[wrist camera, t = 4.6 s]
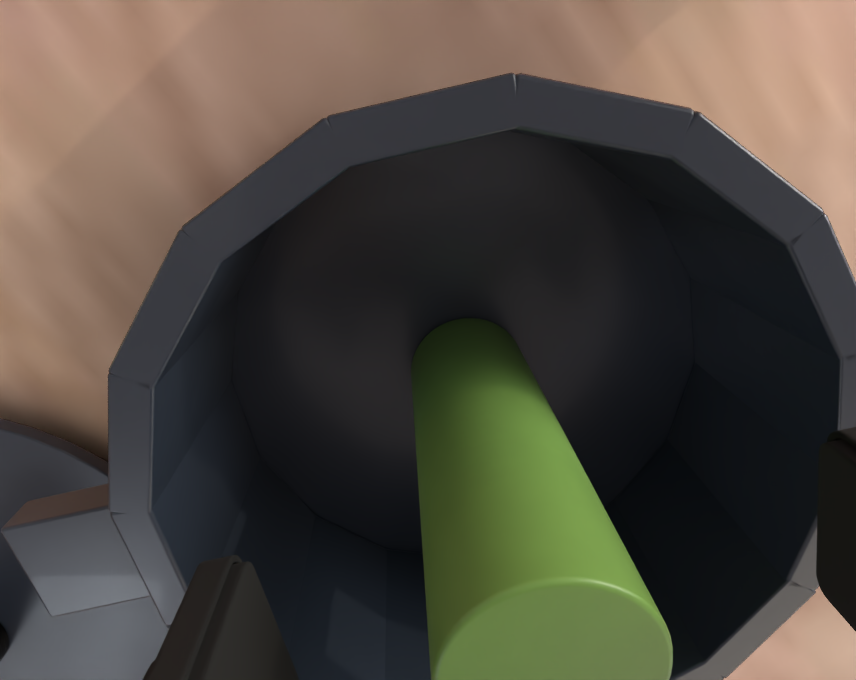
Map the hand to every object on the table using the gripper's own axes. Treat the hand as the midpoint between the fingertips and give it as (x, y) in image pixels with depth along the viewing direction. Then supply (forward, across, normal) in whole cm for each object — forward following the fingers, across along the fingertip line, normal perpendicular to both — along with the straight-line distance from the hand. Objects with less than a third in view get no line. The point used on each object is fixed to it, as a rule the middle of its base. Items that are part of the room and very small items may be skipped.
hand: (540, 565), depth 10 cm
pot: (+8, 0, 0) cm, 8 cm away
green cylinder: (+8, 0, 0) cm, 8 cm away
